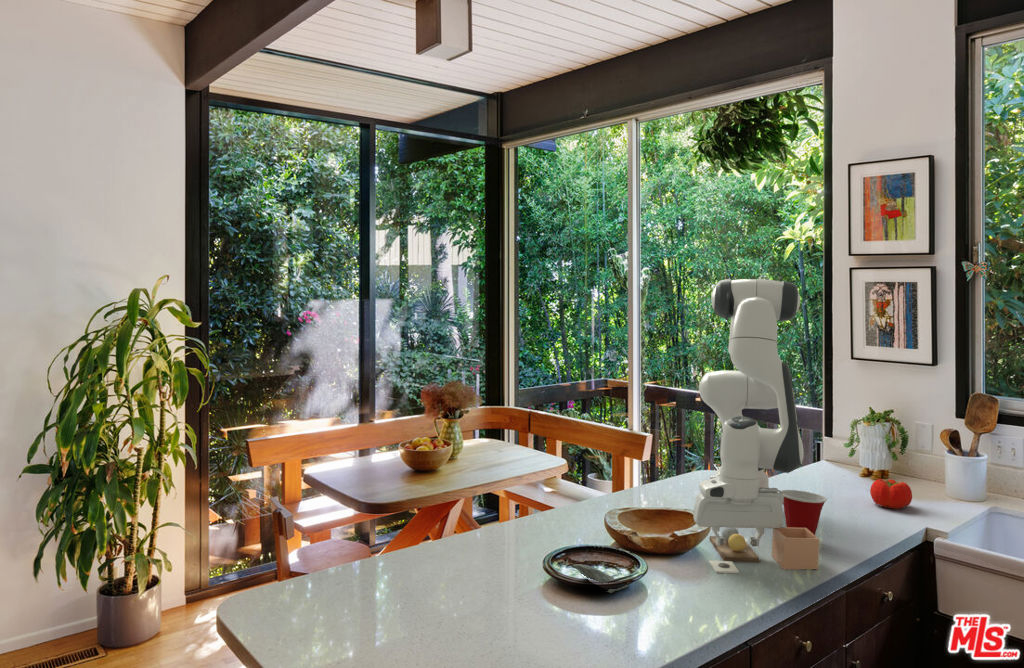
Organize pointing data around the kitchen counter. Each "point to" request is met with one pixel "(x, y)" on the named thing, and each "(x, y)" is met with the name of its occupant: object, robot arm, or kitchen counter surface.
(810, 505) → the plastic cup
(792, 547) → the terracotta open box
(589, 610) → the kitchen counter surface
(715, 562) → the tile
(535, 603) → the kitchen counter surface
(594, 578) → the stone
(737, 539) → the ochre ball
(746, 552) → the walnut board
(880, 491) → the tomato
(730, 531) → the grey ball
